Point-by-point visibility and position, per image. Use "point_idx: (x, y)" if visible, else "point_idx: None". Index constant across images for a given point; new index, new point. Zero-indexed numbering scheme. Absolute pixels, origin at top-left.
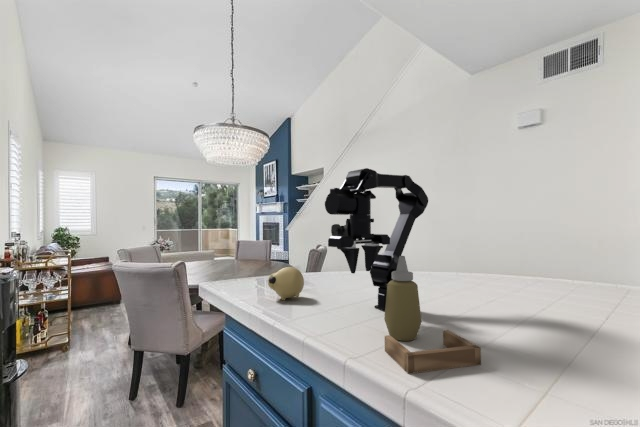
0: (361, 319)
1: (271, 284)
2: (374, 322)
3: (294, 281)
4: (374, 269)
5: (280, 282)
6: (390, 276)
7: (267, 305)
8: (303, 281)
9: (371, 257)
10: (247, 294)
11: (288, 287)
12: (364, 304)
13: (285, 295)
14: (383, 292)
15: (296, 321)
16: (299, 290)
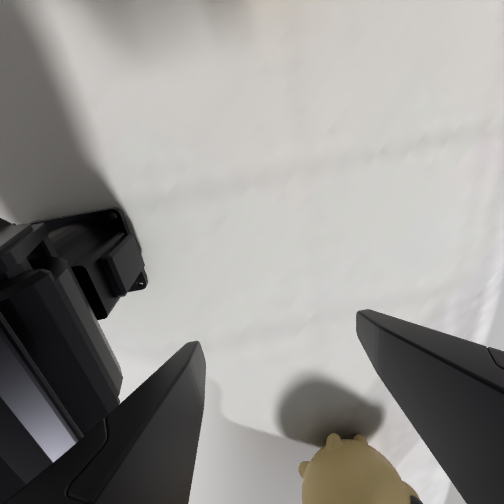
0: (270, 198)
1: (415, 493)
2: (249, 145)
3: (369, 487)
4: (85, 403)
5: (401, 494)
6: (19, 267)
7: None
8: (321, 493)
9: (151, 451)
10: None
11: (379, 465)
12: (158, 329)
13: (367, 444)
14: (102, 276)
15: (447, 274)
16: (333, 453)
